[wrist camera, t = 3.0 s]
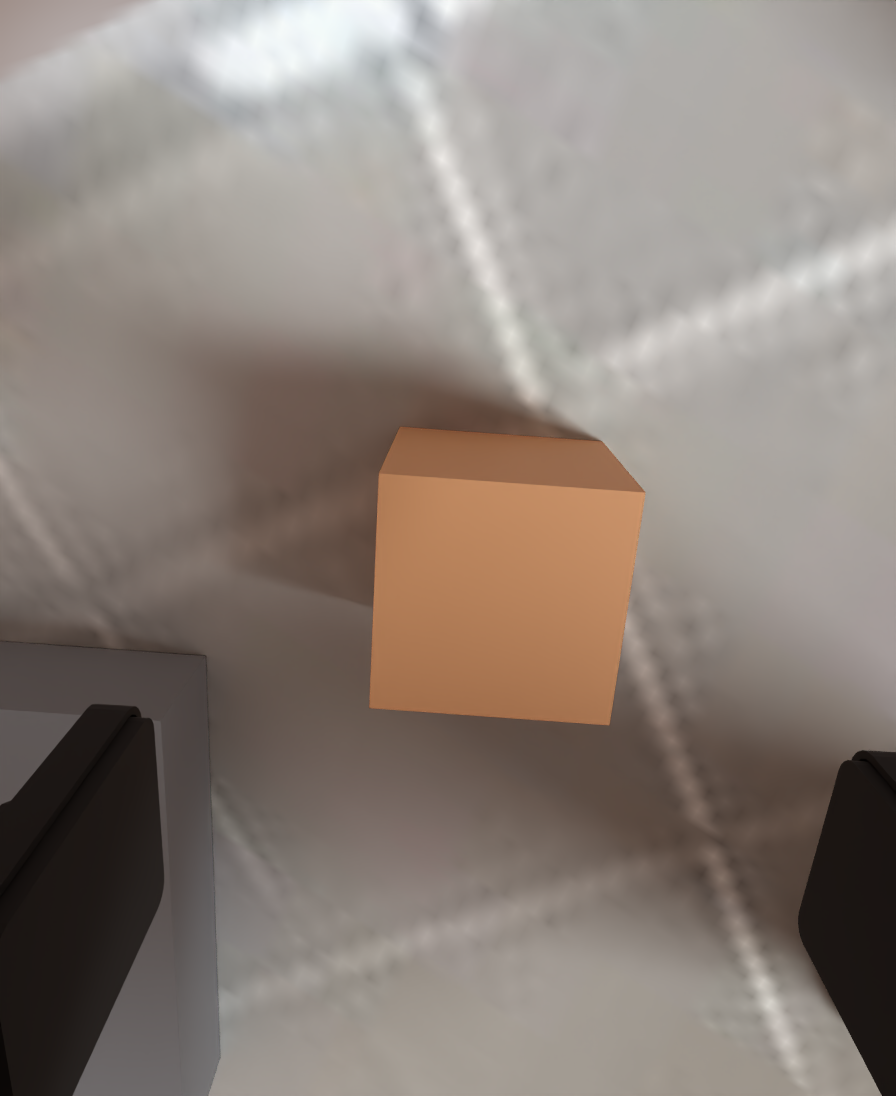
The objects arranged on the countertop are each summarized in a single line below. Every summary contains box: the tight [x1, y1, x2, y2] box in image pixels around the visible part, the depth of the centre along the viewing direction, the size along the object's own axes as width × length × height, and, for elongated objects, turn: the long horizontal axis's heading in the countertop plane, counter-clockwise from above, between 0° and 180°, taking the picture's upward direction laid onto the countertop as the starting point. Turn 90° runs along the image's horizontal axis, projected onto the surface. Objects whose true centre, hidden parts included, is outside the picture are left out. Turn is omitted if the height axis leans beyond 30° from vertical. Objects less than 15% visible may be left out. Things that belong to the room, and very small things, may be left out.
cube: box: [369, 427, 645, 725], centre depth 21 cm, size 6×6×6 cm
